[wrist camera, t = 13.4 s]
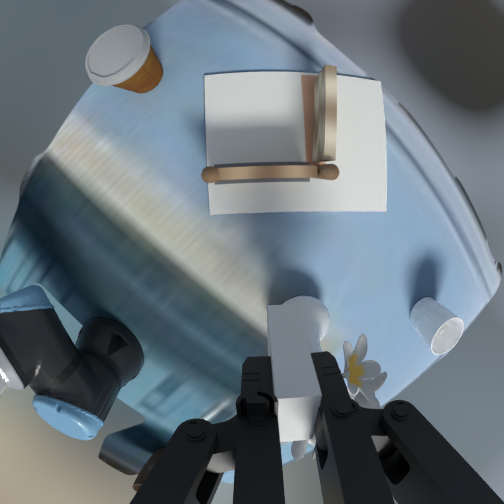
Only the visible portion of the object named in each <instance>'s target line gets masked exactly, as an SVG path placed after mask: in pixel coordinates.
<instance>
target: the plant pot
mask: <svg viewBox="0 0 504 504" xmlns="http://www.w3.org/2000/svg"><path fill="white" fill-rule="evenodd" d="M163 450H164V448H161V449H158V450H157V451H156V452H155V453H154V454H153V455H152V456H151V457H150V459H149V460H148V461H147V462H146V464H145V465H144V467H143V468H142V470H141V471H140V473H139V475H138V476H137V478H136V480H135V482H134V484H133V486H132V487H133V489H134V490H135V491H136V492H137V491H138V490H139V488H140V487H141V485H142V484H143V482H144V481H145V479H146V477H147V476H148V474H149V473H150V471H151V469H152V468H153V466H154V465H155V463H156V462H157V460H158V458H159V457H160V455H161V453H162V452H163Z"/></svg>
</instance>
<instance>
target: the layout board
mask: <svg viewBox="0 0 504 504" xmlns="http://www.w3.org/2000/svg"><path fill="white" fill-rule="evenodd" d="M318 74H319V73H305V72H240V73H225V74H214V75H205V125H206V152H207V167H209V166H212V167H219V168H228V167H248V166H290V165H305V166H314V165H322V164H335V165H336V166H337V167H338V169H339V176H338V178H337V179H335V180H325V179H316V178H258V179H234V180H222V181H218V182H214V183H208V192H209V208H210V215H219V214H240V213H268V212H313V211H379V212H386V203H387V151H386V131H385V117H384V106H383V97H382V89H381V82H380V81H375V80H369V79H363V78H356V77H349V76H341V75H337V135H336V160H335V161H329V162H313V161H312V152H313V125H314V80H315V79H316V77H317V76H318Z"/></svg>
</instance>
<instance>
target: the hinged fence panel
mask: <svg viewBox="0 0 504 504" xmlns="http://www.w3.org/2000/svg"><path fill="white" fill-rule="evenodd" d="M336 135H337V67H336V66H330V65H325V66H324V67H323V69H322V70H321V72H320V73H319V74H318V76H317V77H316V79H315V80H314V125H313V152H312V161H313V162H329V161H335V160H336Z"/></svg>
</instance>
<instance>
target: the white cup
mask: <svg viewBox="0 0 504 504" xmlns="http://www.w3.org/2000/svg"><path fill="white" fill-rule="evenodd" d="M410 321H411V323H412V325H413V326H414V327H415V329H416V331H417V332H418V333H419V335H420V336H421V338H422V339H423V340H424V342H425V343H426V344H427V346H428V347H429V348H430V350H431V351H432V352H433V353H434V354H436V355H441V354H444V353H446V352H448V351H449V350H450V349H452V348H453V347H454V346H455V345H456V343H457V342H458V340H459V339H460V337H461V335H462V332H463V327H464V324H463V321H462V319H461V318H459V317H458V316H457V315H456V314H454V313H453V312H452V311H450V310H449V309H448V308H446V307H445V306H443V305H442V304H440V303H438V302H436V301H435V300H434V299H432V298H431V297H424V298H422V299H421V300H419V301H418V302H417V303H416V304H415V305H414V306H413V308H412V310H411V313H410Z"/></svg>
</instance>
